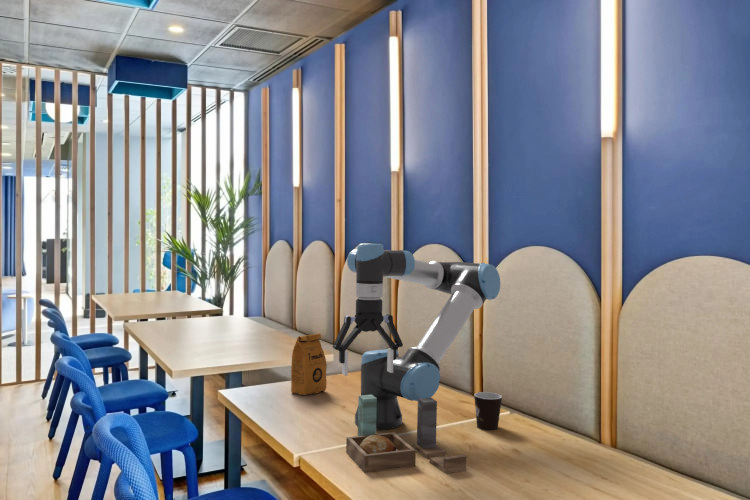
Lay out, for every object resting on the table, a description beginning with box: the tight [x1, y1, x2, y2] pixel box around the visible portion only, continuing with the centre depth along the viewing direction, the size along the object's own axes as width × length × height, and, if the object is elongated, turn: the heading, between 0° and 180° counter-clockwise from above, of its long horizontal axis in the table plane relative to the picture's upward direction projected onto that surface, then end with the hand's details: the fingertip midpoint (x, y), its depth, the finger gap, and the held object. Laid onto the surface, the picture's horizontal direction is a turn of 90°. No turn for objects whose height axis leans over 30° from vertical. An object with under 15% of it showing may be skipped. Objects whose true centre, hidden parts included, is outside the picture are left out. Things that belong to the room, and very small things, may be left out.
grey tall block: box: [412, 397, 447, 459], centre depth 169 cm, size 8×6×14 cm
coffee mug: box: [473, 391, 503, 431], centre depth 194 cm, size 12×9×10 cm
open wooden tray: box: [345, 394, 417, 473], centre depth 165 cm, size 20×14×14 cm
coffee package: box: [290, 332, 327, 396], centre depth 230 cm, size 10×12×22 cm
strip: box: [429, 454, 467, 475], centre depth 159 cm, size 8×6×4 cm
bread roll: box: [360, 435, 396, 454], centre depth 163 cm, size 10×10×8 cm
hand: (367, 373), depth 173 cm, fingers open, 13 cm apart
